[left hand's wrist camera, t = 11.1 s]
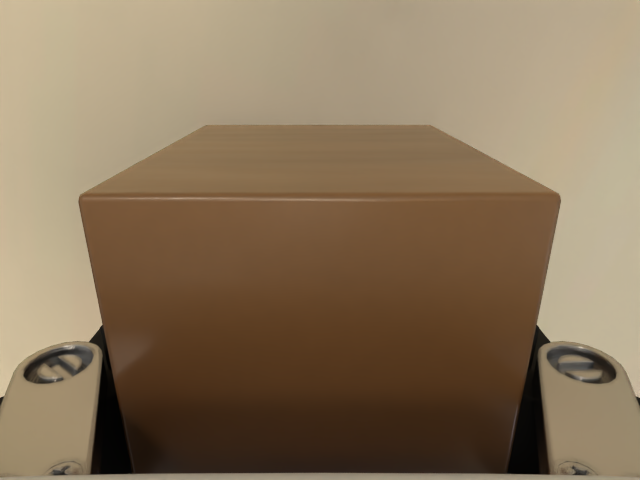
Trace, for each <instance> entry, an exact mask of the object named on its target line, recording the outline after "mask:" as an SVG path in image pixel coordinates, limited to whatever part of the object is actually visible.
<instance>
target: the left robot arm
mask: <svg viewBox="0 0 640 480" xmlns="http://www.w3.org/2000/svg"><path fill="white" fill-rule="evenodd" d="M0 480H640V398H638V397H636V396H635V393H634V391H633V388H632V386H631V383H630V381H629V378H628V375H627V373H626V371H625V370H624V368H623V367H622V365H621V364H620V363H619V362H617V361H616V360H615V359H614V358H613V357H611V356H609V355H607V354H606V353H604V352H602V351H600V350H598V349H595V348H593V347H590V346H587V345H583V344H579V343H575V342H565V341H559V342H550V341H549V340H548V339H547V337H546V336H545V335H544V334H543V332H542V331H541V330H540V329H539V327H538V326H537V325H536V330H535V335H534V340H533V345H532V350H531V355H530V360H529V365H528V370H527V375H526V380H525V385H524V390H523V395H522V400H521V406H520V411H519V416H518V421H517V426H516V431H515V436H514V441H513V446H512V451H511V456H510V461H509V466H508V471H507V474H460V473H180V474H132V469H131V464H130V459H129V454H128V449H127V444H126V439H125V434H124V429H123V424H122V419H121V414H120V409H119V404H118V399H117V394H116V389H115V384H114V379H113V373H112V368H111V363H110V358H109V353H108V348H107V343H106V338H105V333H104V328H103V325H102V326H101V327H100V329H99V330H98V332H97V333H96V334H95V335H94V336H93V338H92V339H91V340H90V341H89V342H81V341H75V342H65V343H61V344H57V345H53V346H50V347H47V348H45V349H42V350H40V351H38V352H36V353H34V354H33V355H31V356H29V357H27V358H26V359H25V360H24V361H23V362H21V363H20V364H19V365H18V367H17V368H16V370H15V371H14V373H13V375H12V378H11V381H10V383H9V386H8V388H7V391H6V393H5V396H3V397H1V398H0Z"/></svg>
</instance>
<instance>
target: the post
mask: <svg viewBox="0 0 640 480" xmlns="http://www.w3.org/2000/svg"><path fill="white" fill-rule="evenodd" d="M560 203H561V199H560V195H559V194H558V193H556V192H555V191H553V190H551V189H549V188H547V187H545V186H543V185H542V184H540V183H538V182H536V181H534V180H532V179H530V178H529V177H527V176H525V175H523V174H521V173H519V172H517V171H515V170H514V169H512V168H510V167H508V166H506V165H504V164H502V163H501V162H499V161H497V160H495V159H493V158H491V157H489V156H487V155H486V154H484V153H482V152H480V151H478V150H476V149H474V148H473V147H471V146H469V145H467V144H465V143H463V142H461V141H459V140H458V139H456V138H454V137H452V136H450V135H448V134H446V133H445V132H443V131H441V130H439V129H437V128H435V127H433V126H431V125H206V126H204V127H202V128H200V129H198V130H196V131H195V132H193V133H191V134H189V135H187V136H186V137H184V138H182V139H180V140H178V141H176V142H175V143H173V144H171V145H169V146H167V147H166V148H164V149H162V150H160V151H158V152H157V153H155V154H153V155H151V156H149V157H148V158H146V159H144V160H142V161H140V162H139V163H137V164H135V165H133V166H131V167H130V168H128V169H126V170H124V171H122V172H120V173H119V174H117V175H115V176H113V177H111V178H110V179H108V180H106V181H104V182H102V183H101V184H99V185H97V186H95V187H93V188H92V189H90V190H88V191H86V192H84V193H83V194H81V195H80V197H79V207H80V212H81V217H82V222H83V227H84V232H85V237H86V242H87V247H88V252H89V257H90V262H91V267H92V272H93V278H94V283H95V288H96V293H97V298H98V303H99V308H100V313H101V318H102V323H103V328H104V333H105V338H106V343H107V348H108V353H109V358H110V363H111V368H112V373H113V379H114V384H115V389H116V394H117V399H118V404H119V409H120V414H121V419H122V424H123V429H124V434H125V439H126V444H127V449H128V454H129V459H130V464H131V469H132V474H180V473H460V474H507V471H508V466H509V461H510V456H511V451H512V446H513V441H514V436H515V431H516V426H517V421H518V416H519V411H520V406H521V400H522V395H523V390H524V385H525V380H526V375H527V370H528V365H529V360H530V355H531V350H532V345H533V340H534V335H535V330H536V324H537V319H538V314H539V309H540V304H541V299H542V294H543V289H544V284H545V279H546V274H547V269H548V264H549V259H550V254H551V248H552V243H553V238H554V233H555V228H556V223H557V218H558V213H559V208H560Z"/></svg>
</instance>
